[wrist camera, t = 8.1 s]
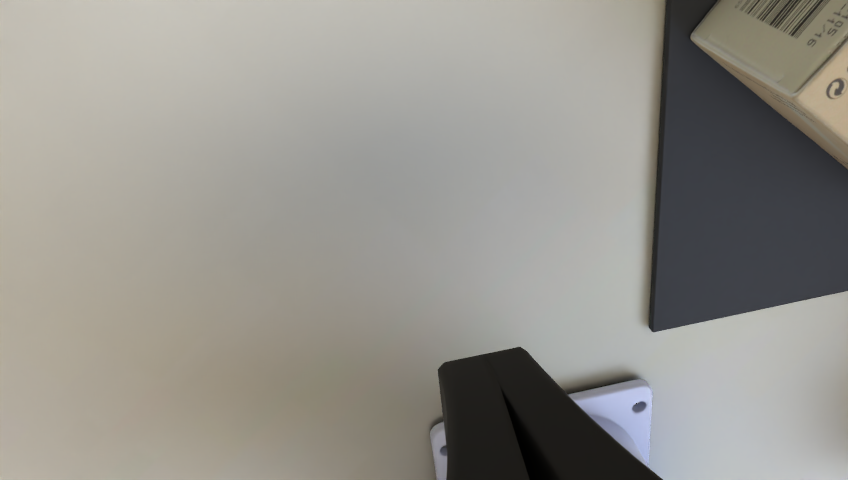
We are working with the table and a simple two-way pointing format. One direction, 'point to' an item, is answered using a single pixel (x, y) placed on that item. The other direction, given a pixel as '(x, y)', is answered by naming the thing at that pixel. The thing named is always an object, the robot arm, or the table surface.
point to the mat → (736, 194)
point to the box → (788, 60)
